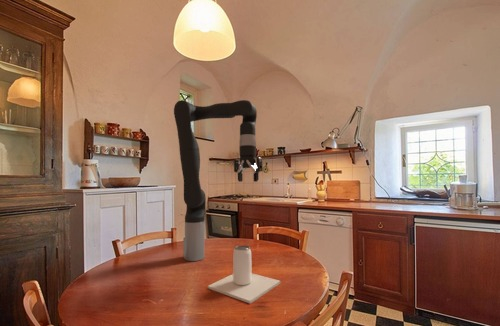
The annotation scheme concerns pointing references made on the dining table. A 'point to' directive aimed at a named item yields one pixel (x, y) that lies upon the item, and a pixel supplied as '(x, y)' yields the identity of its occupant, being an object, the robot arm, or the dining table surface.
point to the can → (242, 265)
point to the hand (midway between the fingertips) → (247, 181)
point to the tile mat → (245, 287)
